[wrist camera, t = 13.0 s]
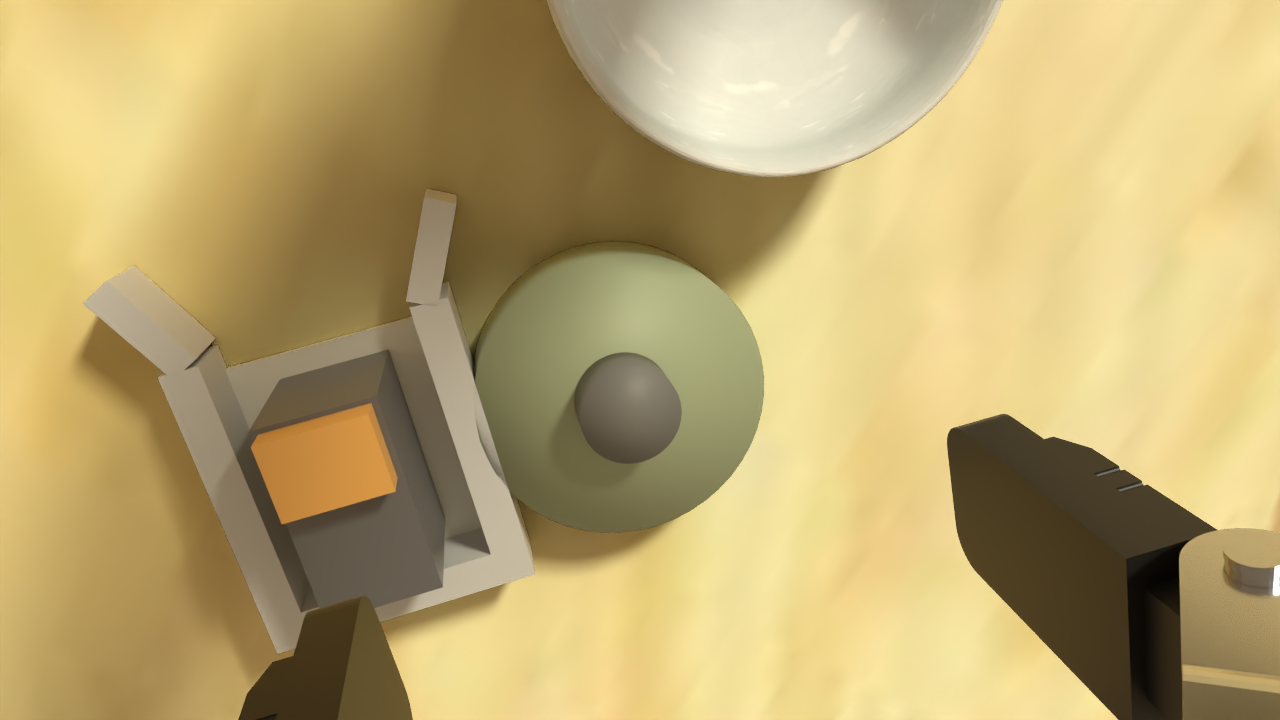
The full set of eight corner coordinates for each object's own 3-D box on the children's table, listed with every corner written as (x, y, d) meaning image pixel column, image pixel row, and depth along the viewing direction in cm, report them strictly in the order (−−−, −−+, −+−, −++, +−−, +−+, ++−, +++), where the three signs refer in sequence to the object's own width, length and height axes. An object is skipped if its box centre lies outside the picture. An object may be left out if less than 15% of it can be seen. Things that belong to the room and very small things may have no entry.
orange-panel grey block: (279, 379, 38) (241, 444, 31) (388, 349, 39) (373, 407, 32) (343, 547, 41) (320, 641, 34) (445, 517, 41) (442, 603, 34)
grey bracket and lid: (106, 272, 36) (53, 301, 31) (693, 118, 39) (726, 123, 34) (259, 624, 41) (233, 694, 37) (768, 468, 44) (805, 515, 39)
